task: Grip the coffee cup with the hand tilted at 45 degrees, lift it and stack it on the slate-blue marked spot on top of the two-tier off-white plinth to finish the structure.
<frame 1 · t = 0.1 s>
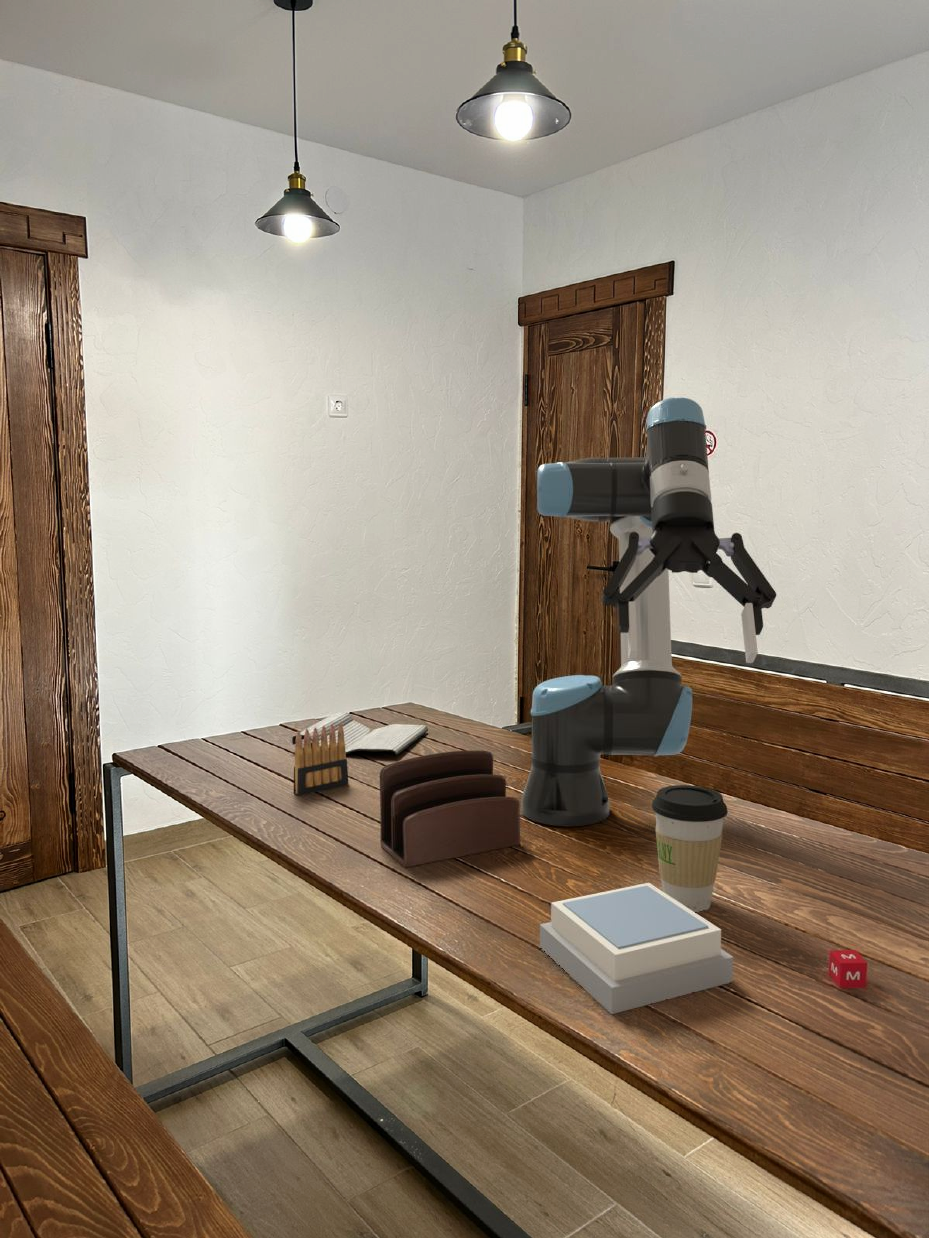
hand: (692, 657, 109), 36 cm above the table, tool tilted 35°, fingers open, 13 cm apart
coffee cup: (686, 903, 126), on the table
plinth: (632, 964, 110), on the table
red letter cube: (846, 982, 106), on the table
ammunition clip: (321, 790, 175), on the table
letter holder: (450, 848, 147), on the table
open book: (363, 745, 207), on the table
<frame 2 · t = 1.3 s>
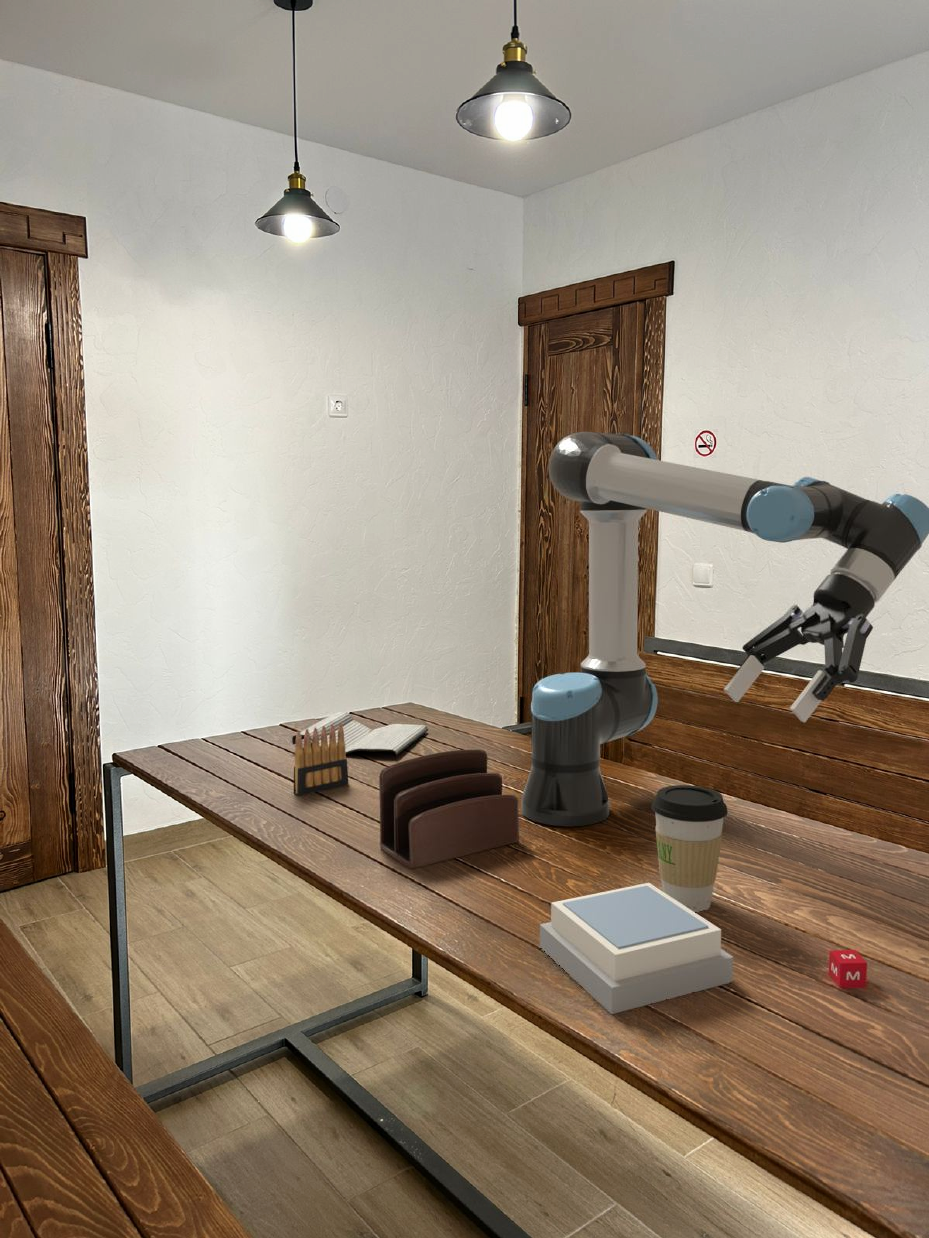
hand: (762, 705, 127), 26 cm above the table, tool tilted 45°, fingers open, 13 cm apart
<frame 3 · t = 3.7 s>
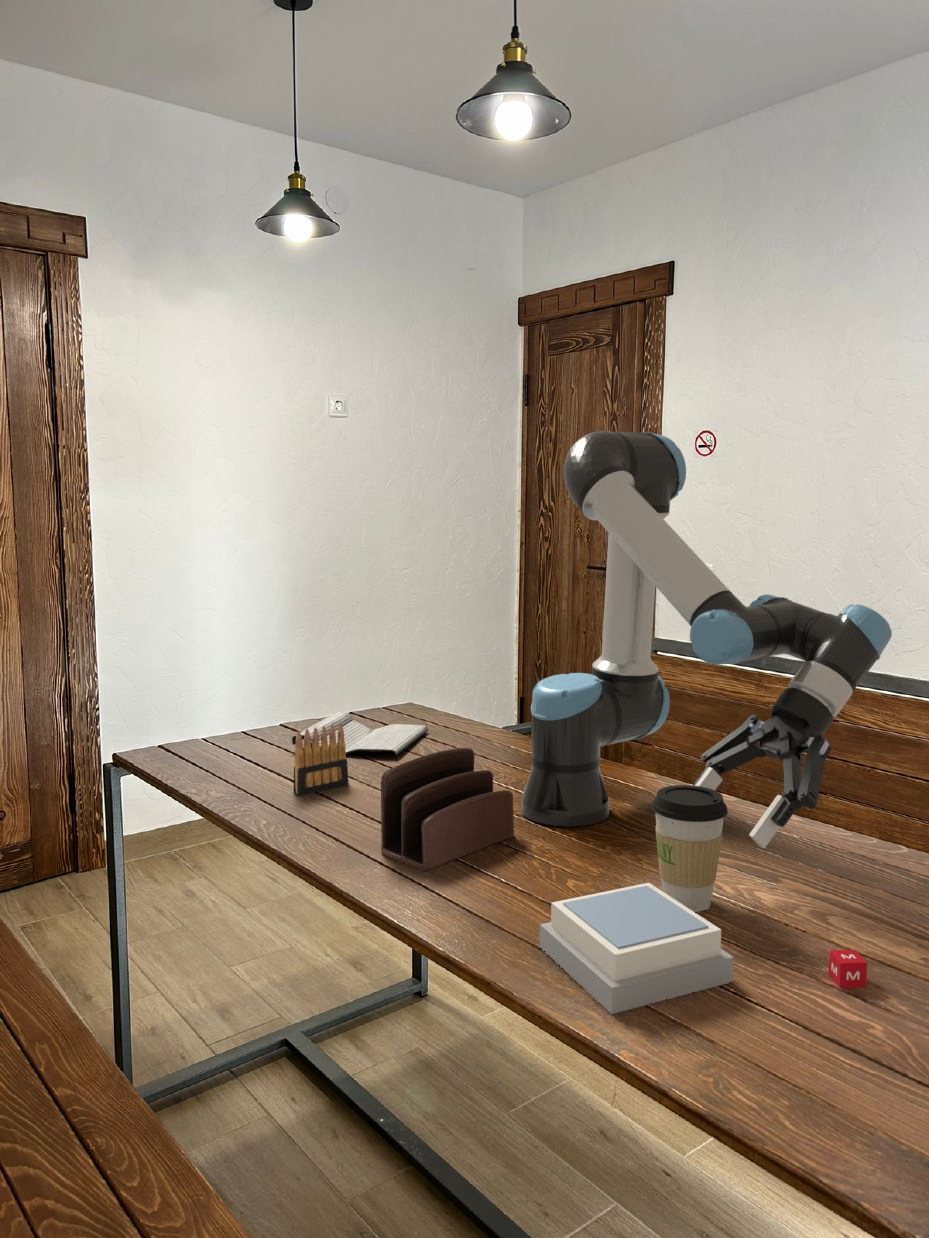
hand: (720, 825, 125), 11 cm above the table, tool tilted 45°, fingers open, 13 cm apart
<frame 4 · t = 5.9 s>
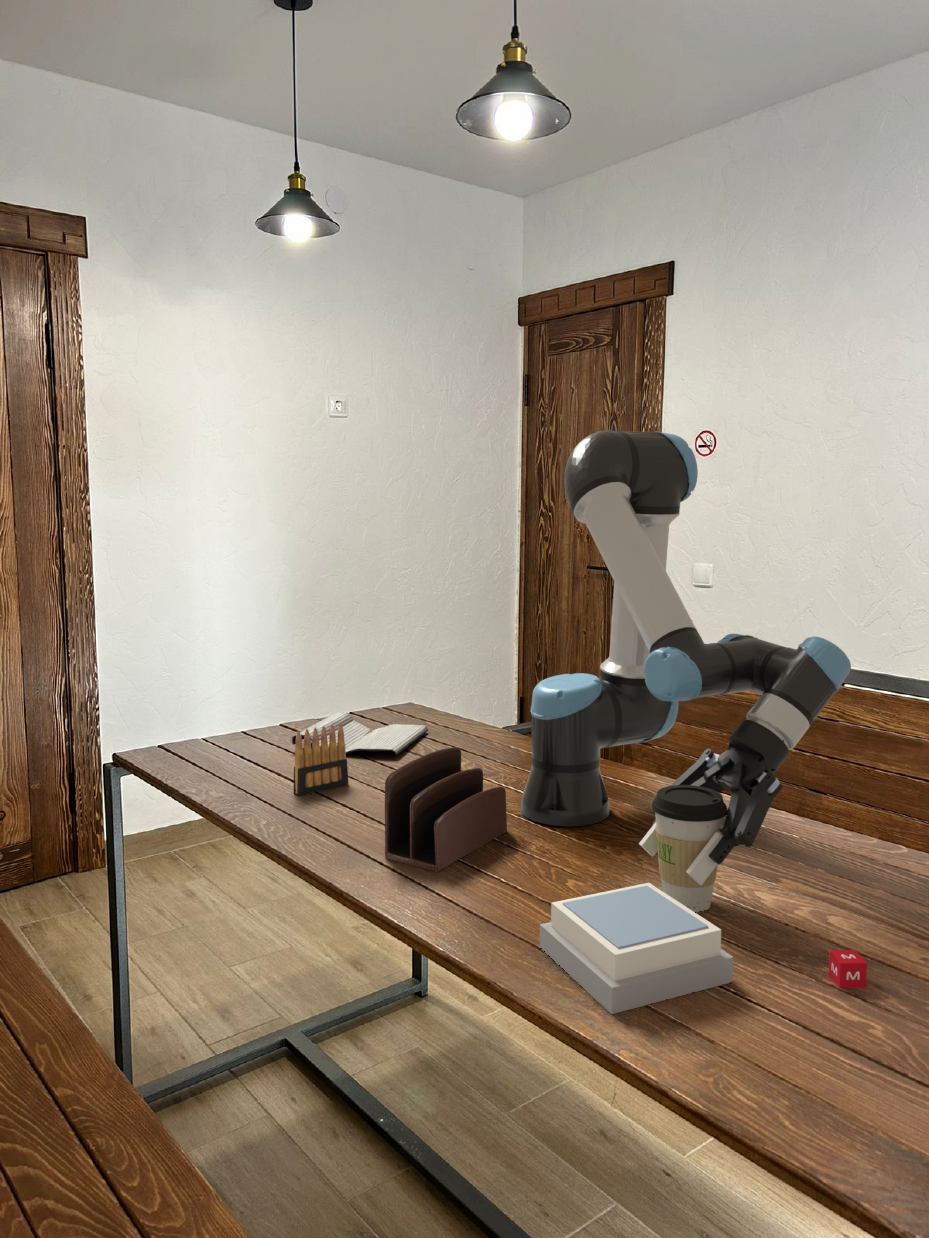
hand: (668, 863, 124), 6 cm above the table, tool tilted 45°, fingers closed on coffee cup, 10 cm apart
coffee cup: (686, 903, 126), on the table, touching gripper
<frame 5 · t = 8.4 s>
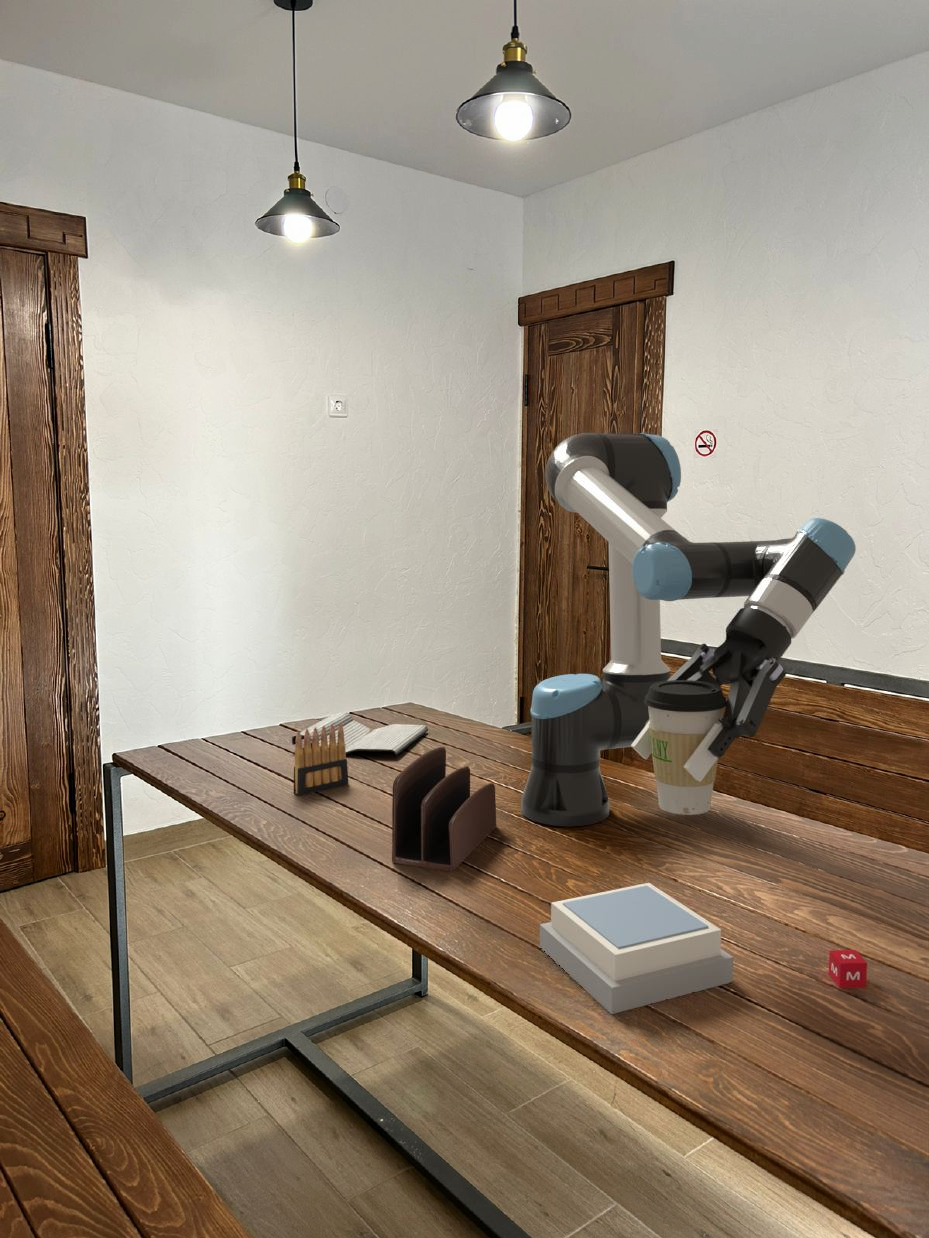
hand: (664, 762, 113), 22 cm above the table, tool tilted 45°, fingers closed on coffee cup, 10 cm apart
coffee cup: (684, 807, 116), point 16 cm above the table, touching gripper
when the fingers open (13 cm above the table, at t = 11.4 s): coffee cup drops 1 cm, resting on plinth.
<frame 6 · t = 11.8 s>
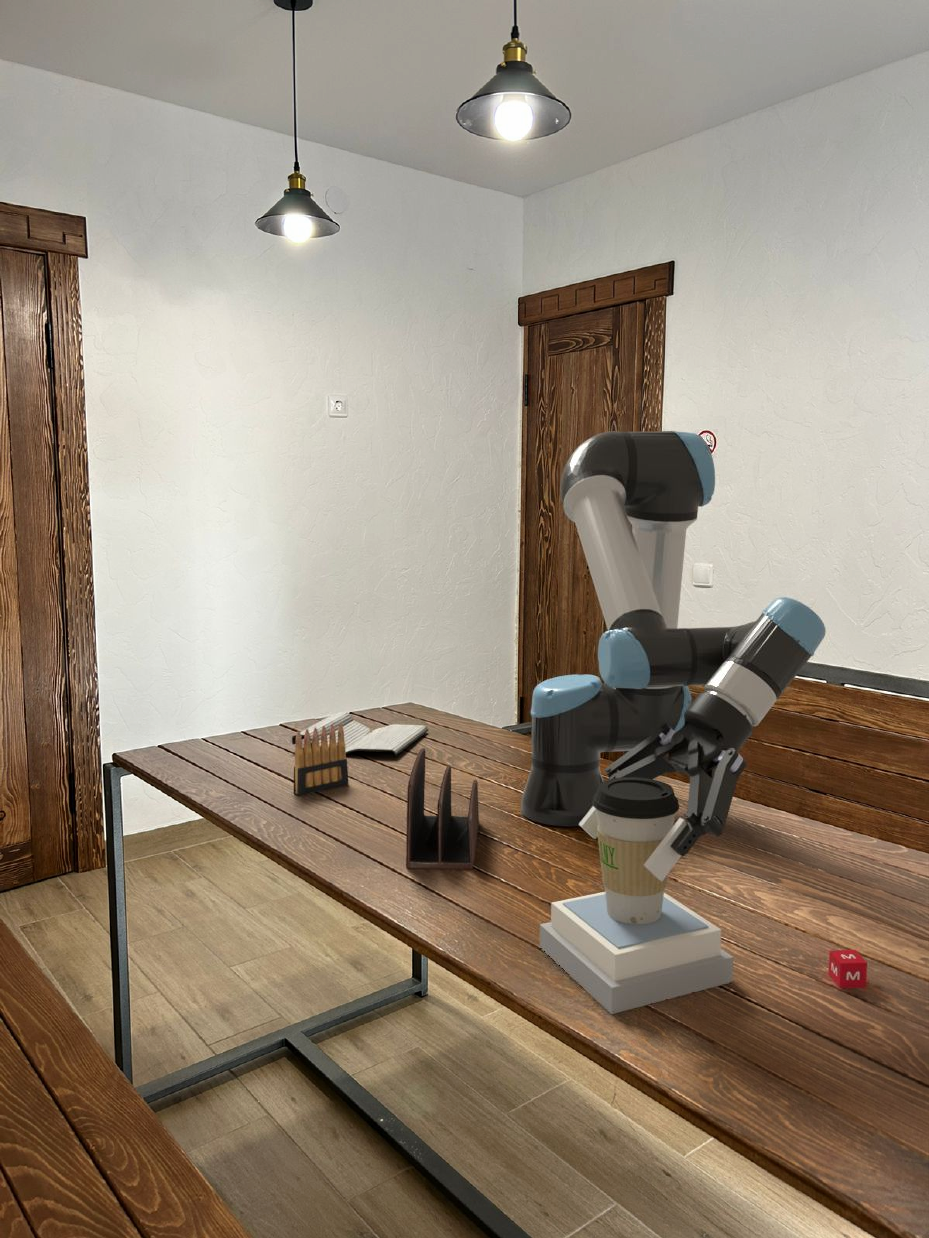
hand: (617, 851, 107), 14 cm above the table, tool tilted 45°, fingers open, 13 cm apart
coffee cup: (633, 914, 109), point 6 cm above the table, touching plinth
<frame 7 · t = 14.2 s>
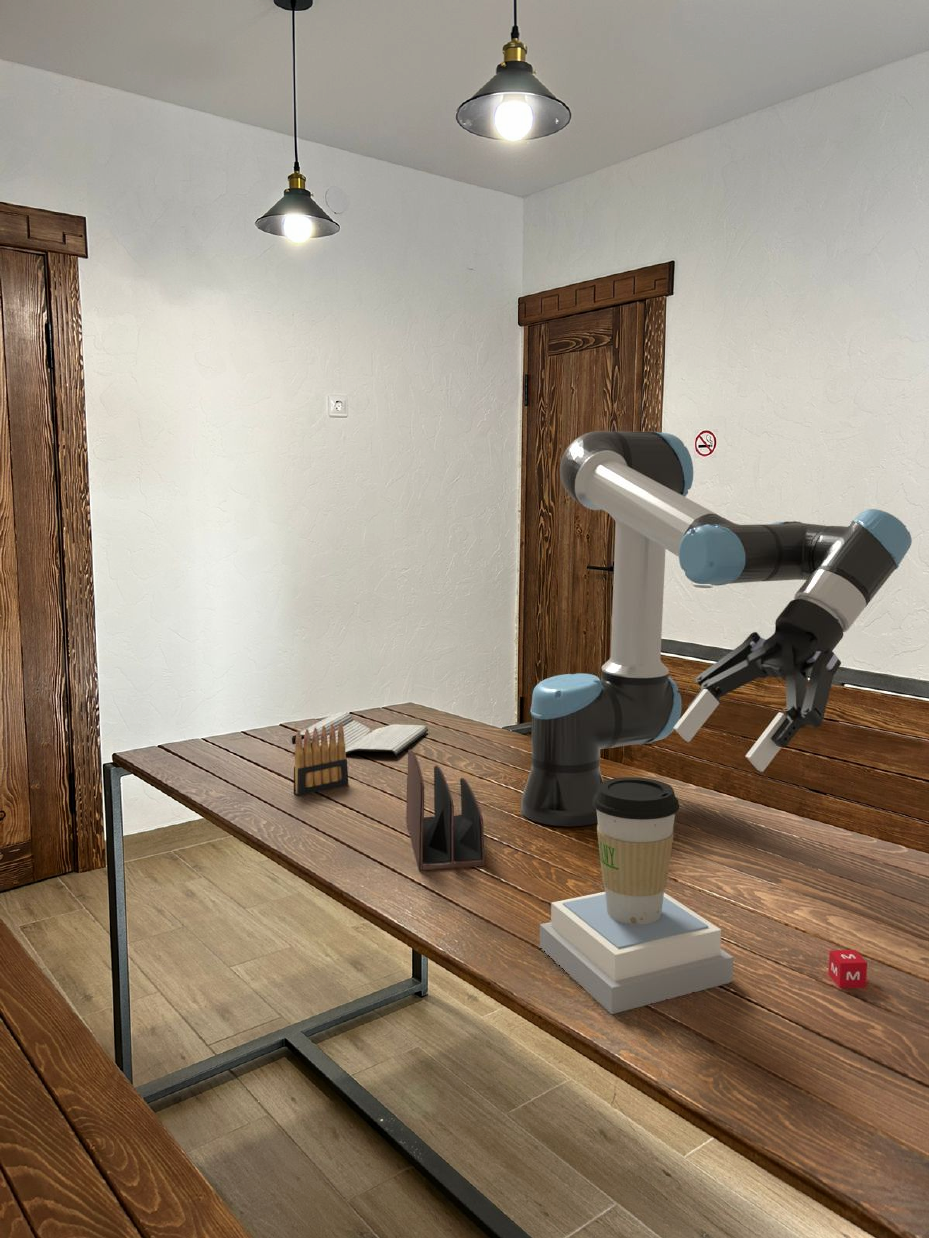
hand: (715, 749, 112), 24 cm above the table, tool tilted 45°, fingers open, 13 cm apart
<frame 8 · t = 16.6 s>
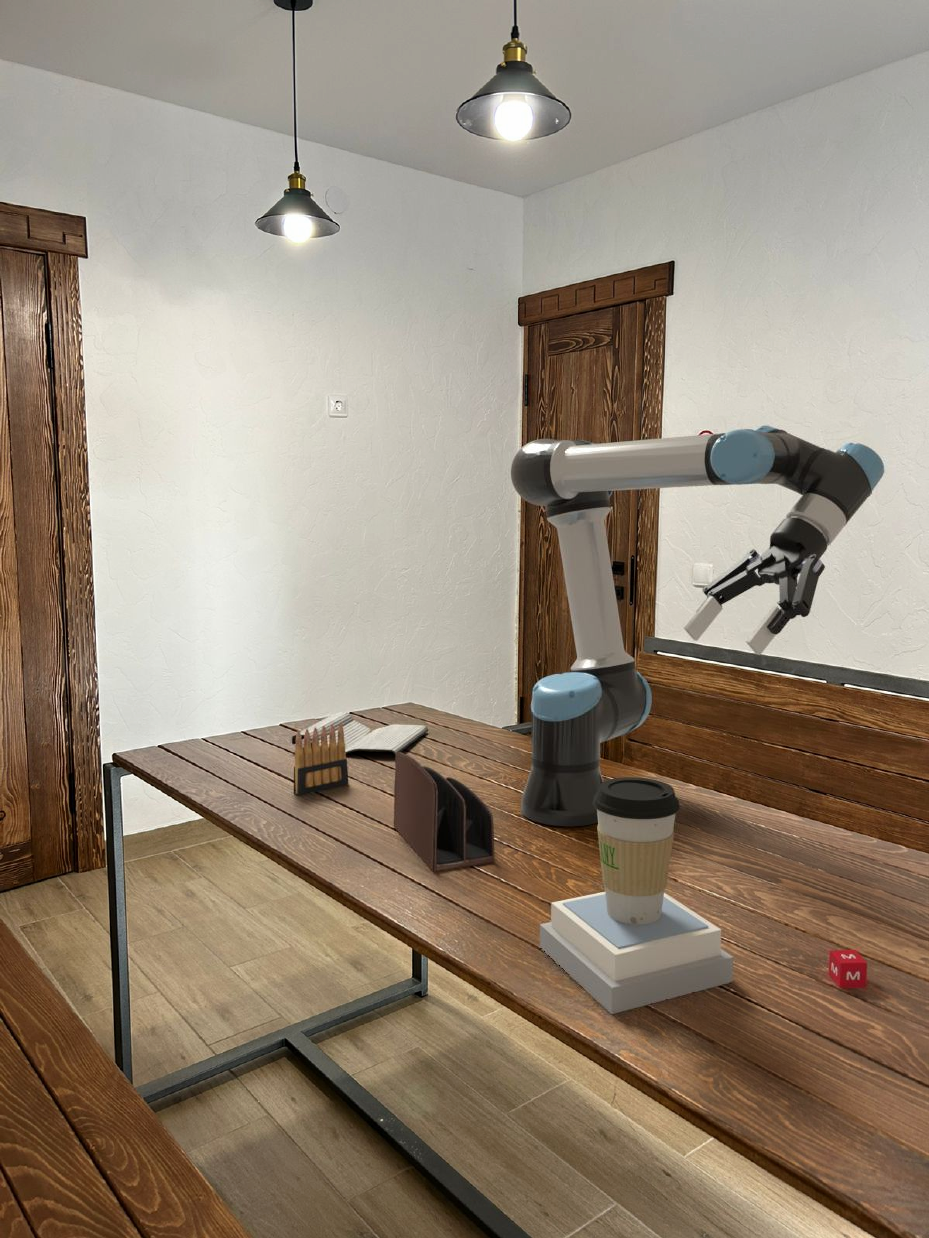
hand: (719, 641, 133), 34 cm above the table, tool tilted 45°, fingers open, 13 cm apart
at the end: coffee cup 0.4 cm off-centre on the plinth, point 6.0 cm above the plinth's base; coffee cup tilted 0°; the gripper is holding nothing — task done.
